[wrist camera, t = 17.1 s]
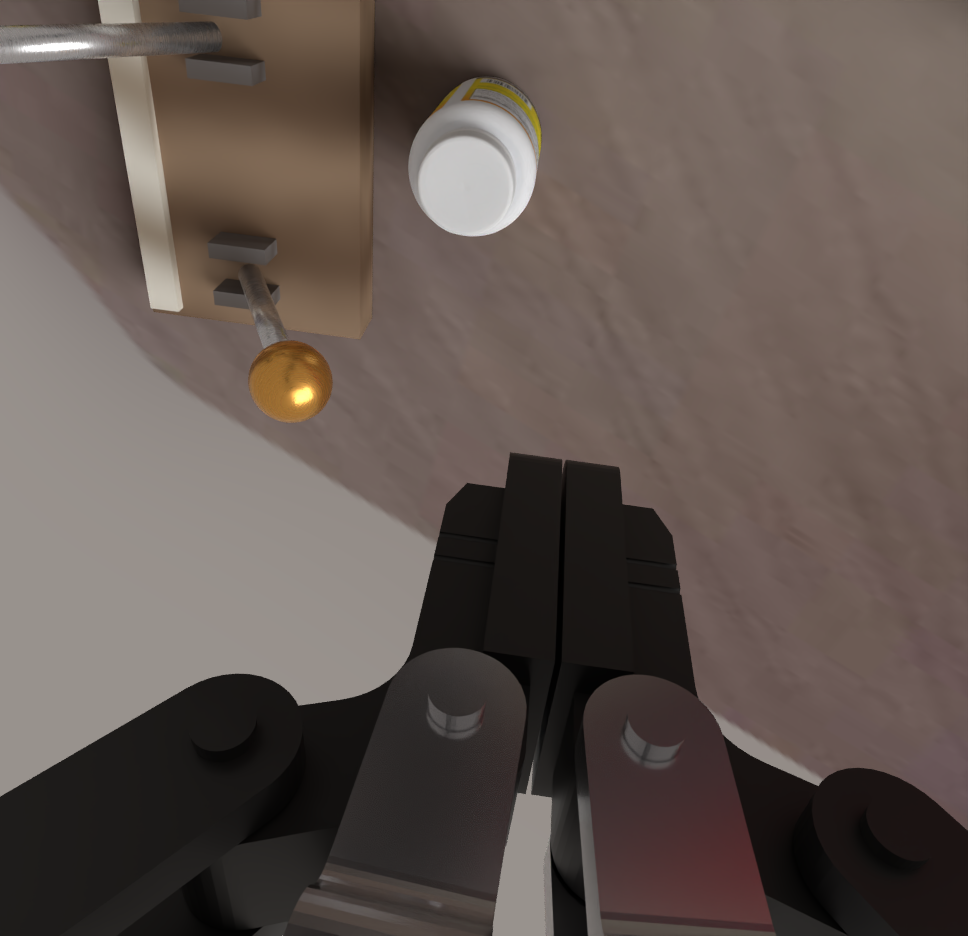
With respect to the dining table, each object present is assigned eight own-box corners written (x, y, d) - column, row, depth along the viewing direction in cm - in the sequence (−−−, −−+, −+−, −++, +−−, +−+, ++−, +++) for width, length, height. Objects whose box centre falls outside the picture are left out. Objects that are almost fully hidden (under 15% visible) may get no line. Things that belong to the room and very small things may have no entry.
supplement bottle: (449, 199, 41) (415, 265, 33) (423, 87, 38) (379, 129, 30) (551, 179, 40) (544, 242, 31) (532, 62, 37) (518, 98, 28)
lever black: (184, -13, 34) (-176, -19, 24) (234, -3, 32) (-129, -5, 23) (193, 72, 36) (-136, 97, 26) (242, 85, 34) (-89, 116, 25)
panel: (91, -279, 31) (21, -310, 27) (376, -248, 31) (347, -276, 27) (176, 291, 46) (138, 324, 42) (372, 317, 45) (352, 353, 42)
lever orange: (212, 244, 39) (251, 368, 29) (280, 242, 40) (340, 360, 30) (219, 306, 41) (258, 443, 31) (284, 302, 42) (341, 432, 32)
